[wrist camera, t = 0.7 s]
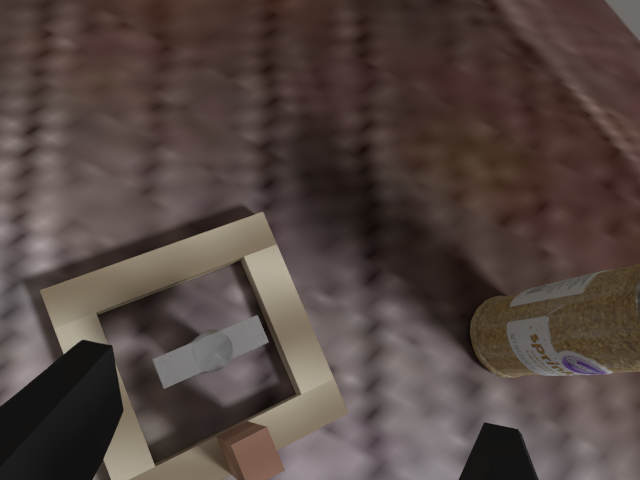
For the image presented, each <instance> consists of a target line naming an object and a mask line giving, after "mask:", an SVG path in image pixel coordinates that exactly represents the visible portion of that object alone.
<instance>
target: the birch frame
mask: <svg viewBox="0 0 640 480" xmlns="http://www.w3.org/2000/svg"><path fill="white" fill-rule="evenodd" d="M239 261H241V264H242V266H243V269H244V271H245V273H246V276H247V278H248V281H249V283H250V285H251V288H252V290H253V292H254V295H255V297H256V300H257V302H258V304H259V307H260V309H261V312H262V314H263V316H264V319H265V321H266V324H267V326H268V328H269V331H270V333H271V336H272V338H273V340H274V343H275V345H276V348H277V350H278V352H279V355H280V357H281V360H282V362H283V364H284V367H285V369H286V372H287V374H288V376H289V379H290V381H291V384H292V386H293V388H294V391H295V393H296V394H295V395H293V396H291V397H289V398H287V399H285V400H283V401H281V402H279V403H277V404H275V405H273V406H271V407H269V408H267V409H265V410H263V411H261V412H259V413H257V414H255V415H253V416H250V417H248V418H246V419H244V420H242V421H240V422H238V423H236V424H234V425H232V426H230V427H228V428H226V429H224V430H222V431H220V432H218V433H216V434H214V435H212V436H210V437H208V438H206V439H204V440H202V441H200V442H198V443H196V444H194V445H191V446H189V447H187V448H185V449H183V450H181V451H179V452H177V453H175V454H173V455H171V456H169V457H167V458H165V459H163V460H161V461H159V462H157V463H155V464H154V461H153V459H152V456H151V453H150V451H149V448H148V446H147V443H146V440H145V438H144V435H143V433H142V430H141V428H140V425H139V422H138V420H137V417H136V415H135V412H134V409H133V407H132V404H131V402H130V399H129V396H128V394H127V391H126V389H125V386H124V383H123V381H122V378H121V376H120V373H119V370H118V368H117V365H116V370H117V375H118V381H119V386H120V392H121V398H122V403H123V409H124V411H123V414H122V416H121V419H120V421H119V424H118V426H117V428H116V431H115V433H114V436H113V438H112V441H111V443H110V445H109V447H108V450H107V452H106V454H105V457H104V459H103V460H104V462H105V465H106V468H107V470H108V473H109V476H110V478H111V480H222V479H224V478H226V477H228V476H230V475H233V476H234V477H235V478H236V479H237V480H268V479H270V478H271V477H273V476H275V475H277V474H279V473H281V472H283V471H284V467H283V465H282V462H281V460H280V457H279V455H278V452H277V450H279V449H281V448H283V447H285V446H287V445H289V444H291V443H293V442H295V441H296V440H298V439H300V438H302V437H304V436H306V435H308V434H310V433H312V432H314V431H316V430H317V429H319V428H321V427H323V426H325V425H327V424H329V423H331V422H333V421H335V420H336V419H338V418H340V417H342V416H344V415H346V414H348V410H347V408H346V406H345V403H344V401H343V399H342V396H341V394H340V392H339V389H338V387H337V385H336V382H335V380H334V378H333V375H332V373H331V371H330V368H329V366H328V363H327V361H326V359H325V356H324V354H323V352H322V349H321V347H320V345H319V342H318V340H317V338H316V335H315V333H314V331H313V328H312V326H311V324H310V321H309V319H308V317H307V314H306V312H305V309H304V307H303V305H302V302H301V300H300V298H299V295H298V293H297V291H296V288H295V286H294V284H293V281H292V279H291V277H290V274H289V272H288V270H287V267H286V265H285V263H284V260H283V258H282V255H281V253H280V251H279V248H278V246H277V244H276V241H275V239H274V237H273V234H272V232H271V230H270V227H269V225H268V223H267V220H266V218H265V216H264V213H263V212H261V213H258V214H255V215H252V216H250V217H247V218H244V219H241V220H238V221H235V222H232V223H230V224H227V225H224V226H221V227H218V228H215V229H213V230H210V231H207V232H204V233H201V234H198V235H195V236H193V237H190V238H187V239H184V240H181V241H178V242H176V243H173V244H170V245H167V246H164V247H161V248H158V249H156V250H153V251H150V252H147V253H144V254H141V255H139V256H136V257H133V258H130V259H127V260H124V261H122V262H119V263H116V264H113V265H110V266H107V267H104V268H102V269H99V270H96V271H93V272H90V273H87V274H85V275H82V276H79V277H76V278H73V279H70V280H67V281H65V282H62V283H59V284H56V285H53V286H50V287H48V288H45V289H42V290H40V292H41V295H42V298H43V300H44V303H45V306H46V308H47V311H48V314H49V316H50V319H51V322H52V324H53V327H54V330H55V332H56V335H57V338H58V340H59V343H60V346H61V348H62V351H63V354H65V353H66V352H67V351H68V350H70V349H71V348H72V347H73V346H74V345H76V344H77V343H78V342H80V341H81V340H88V341H92V342H97V343H102V344H107V345H108V342H107V339H106V337H105V334H104V332H103V329H102V326H101V324H100V321H99V319H98V316H97V315H99V314H102V313H105V312H107V311H110V310H112V309H115V308H118V307H120V306H123V305H126V304H128V303H131V302H133V301H136V300H139V299H141V298H144V297H147V296H149V295H152V294H155V293H157V292H160V291H162V290H165V289H168V288H170V287H173V286H176V285H178V284H181V283H183V282H186V281H189V280H191V279H194V278H197V277H199V276H202V275H205V274H207V273H210V272H212V271H215V270H218V269H220V268H223V267H226V266H228V265H231V264H233V263H236V262H239ZM115 364H116V363H115Z"/></svg>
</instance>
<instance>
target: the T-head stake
mask: <svg viewBox="0 0 640 480" xmlns="http://www.w3.org/2000/svg"><path fill="white" fill-rule="evenodd" d="M268 342H269V341H268V339H267V336H266V334H265V332H264V329H263V327H262V324H261V322H260V320H259V317H258V315H256V316H254V317H251V318H249V319H247V320H244V321H242V322H240V323H237V324H235V325H232V326H230V327H228V328H225V329H223V330H221V331H217V330H208V331H205V332H203V333H201V334H200V335H199V336H197V337H196V338H195V339H193V340H192V341H191V342H189V343H188V344H187V345H185V346H183V347H180V348H178V349H176V350H173V351H171V352H169V353H166V354H164V355H161V356H159V357H157V358H154V359H152V362H153V365H154V368H155V370H156V373H157V375H158V378H159V380H160V383H161V385H162V388H163V389H165V388H167V387H170V386H172V385H174V384H176V383H179V382H181V381H183V380H185V379H188V378H190V377H192V376H194V375H196V374H202V373H207V372H213V371H218V370H220V369H222V368H224V367H225V366H226V365H227V364H228V363H229V362H230V360H231V359H232V358H235V357H237V356H239V355H241V354H244V353H246V352H248V351H250V350H253V349H255V348H257V347H259V346H262V345H264V344H266V343H268Z"/></svg>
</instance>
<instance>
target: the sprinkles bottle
mask: <svg viewBox="0 0 640 480" xmlns="http://www.w3.org/2000/svg"><path fill="white" fill-rule="evenodd" d="M470 337H471V341H472V347H473V349H474V351H475V355H476V357H477V358H478V359H479V361H480V362H481V363H482V364H483V365H484V366H485V367H486V368H487V369H488V370H489V371H490V372H492V373H494V374H496V375H497V376H500V377H506V378H514V377H519V376H523V375H546V376H562V375H590V374H610V373H614V372H633V371H636V372H637V371H640V264H637V265H632V266H629V267H623V268H619V269H615V270H605V271H600V272H596V273H592V274H588V275H584V276H580V277H576V278H571V279H567V280H563V281H559V282H555V283H551V284H547V285H543V286H539V287H535V288H531V289H528V290H525V291H523V292H521V293H518V294H514V295H508V296H502V295H501V296H495V297H492V298H490V299H488V300H486V301H484V302H483V303H482V304H481V305H480V306H479V307H478V308H477V310H476V312H475V314H474V315H473V318H472V320H471V322H470Z"/></svg>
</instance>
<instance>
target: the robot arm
mask: <svg viewBox="0 0 640 480" xmlns="http://www.w3.org/2000/svg"><path fill="white" fill-rule="evenodd" d="M123 411H124V409H123V403H122V398H121V392H120V386H119V381H118V375H117V370H116V364H115V358H114V353H113V347H112V345H107V344H102V343H97V342H92V341H88V340H81V341H80V342H78V343H77V344H76V345H74V346H73V347H72V348H71V349H70V350H68V351H67V352H66V353H65V354H64V355H62V356H61V357H60V358H59V359H58V360H56V361H55V362H54V363H53V364H52V365H51V366H49V367H48V368H47V369H46V370H45V371H43V372H42V373H41V374H40V375H39V376H37V377H36V378H35V379H34V380H33V381H31V382H30V383H29V384H28V385H26V386H25V387H24V388H23V389H22V390H20V391H19V392H18V393H17V394H16V395H14V396H13V397H12V398H11V399H9V400H8V401H7V402H5V403H4V404H3V405H2V406H0V480H92V479H93V477H94V476H95V474H96V472H97V470H98V468H99V466H100V465H101V463H102V461H103V459H104V457H105V454H106V452H107V450H108V447H109V445H110V443H111V441H112V438H113V436H114V433H115V431H116V428H117V426H118V424H119V421H120V419H121V416H122V414H123ZM459 480H539V479H538V477H537V474H536V472H535V469H534V467H533V464H532V461H531V459H530V456H529V453H528V451H527V448H526V445H525V442H524V440H523V437H522V434H521V433H520V432H519V430H518V429H514V428H509V427H504V426H499V425H494V424H490V423H485V422H484V424H483V426H482V429H481V431H480V433H479V435H478V438H477V440H476V442H475V444H474V447H473V449H472V451H471V453H470V456H469V458H468V460H467V462H466V465H465V467H464V469H463V471H462V474H461V476H460V478H459Z"/></svg>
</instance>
